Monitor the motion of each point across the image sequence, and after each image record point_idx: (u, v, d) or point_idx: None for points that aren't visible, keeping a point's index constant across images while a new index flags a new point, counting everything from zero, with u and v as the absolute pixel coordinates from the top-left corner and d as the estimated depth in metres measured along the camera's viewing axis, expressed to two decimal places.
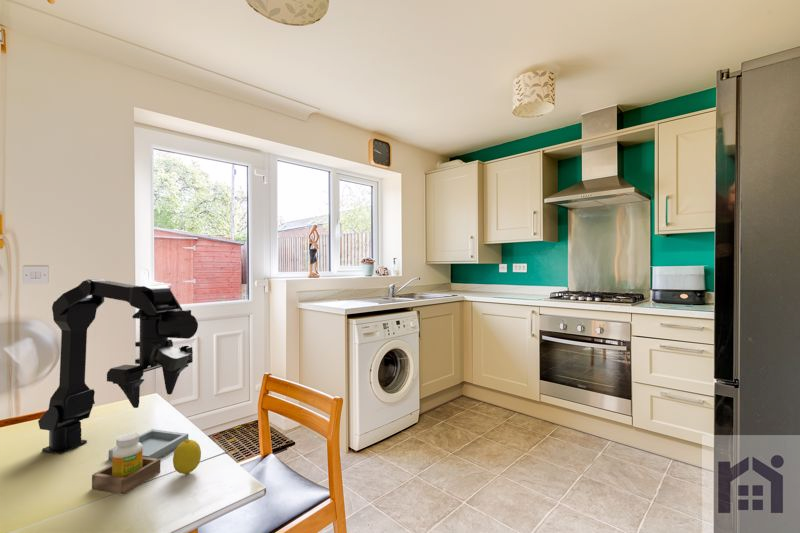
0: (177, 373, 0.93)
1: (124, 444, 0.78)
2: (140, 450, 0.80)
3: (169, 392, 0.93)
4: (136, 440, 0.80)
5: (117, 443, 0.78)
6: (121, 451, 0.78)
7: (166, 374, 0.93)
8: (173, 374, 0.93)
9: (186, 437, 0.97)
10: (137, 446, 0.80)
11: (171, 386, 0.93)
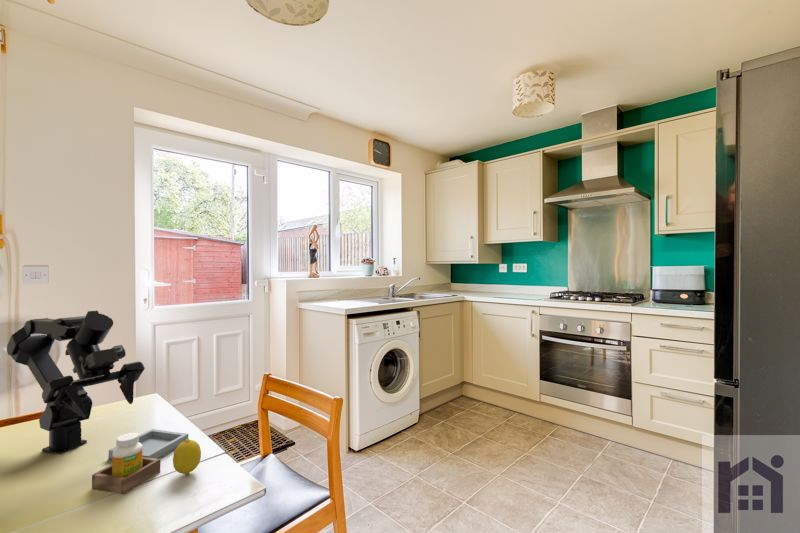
0: (130, 381, 0.91)
1: (124, 444, 0.78)
2: (140, 450, 0.80)
3: (130, 401, 0.89)
4: (136, 440, 0.80)
5: (117, 443, 0.78)
6: (121, 451, 0.78)
7: (123, 389, 0.91)
8: (126, 383, 0.91)
9: (186, 437, 0.97)
10: (137, 446, 0.80)
11: (129, 394, 0.90)
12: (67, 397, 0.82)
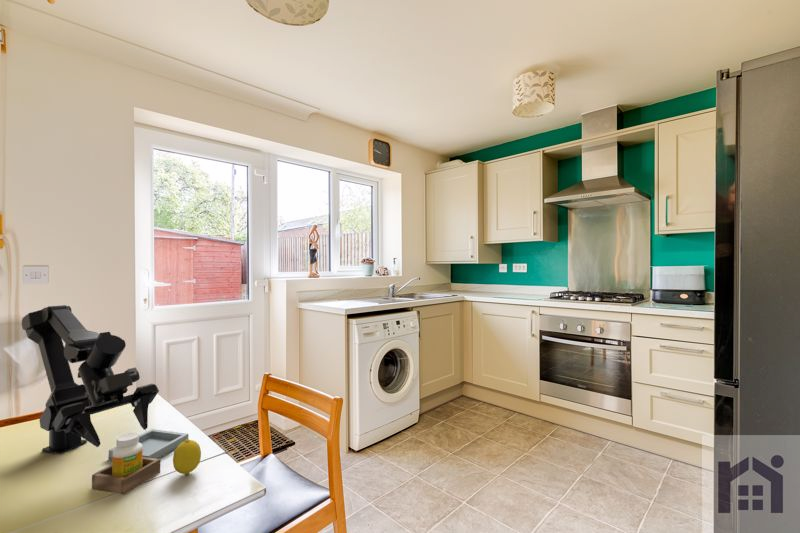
0: (144, 405, 0.87)
1: (124, 444, 0.78)
2: (140, 450, 0.80)
3: (144, 426, 0.85)
4: (136, 440, 0.80)
5: (117, 443, 0.78)
6: (121, 451, 0.78)
7: (137, 414, 0.87)
8: (140, 408, 0.87)
9: (186, 437, 0.97)
10: (137, 446, 0.80)
11: (143, 419, 0.85)
12: (79, 425, 0.78)
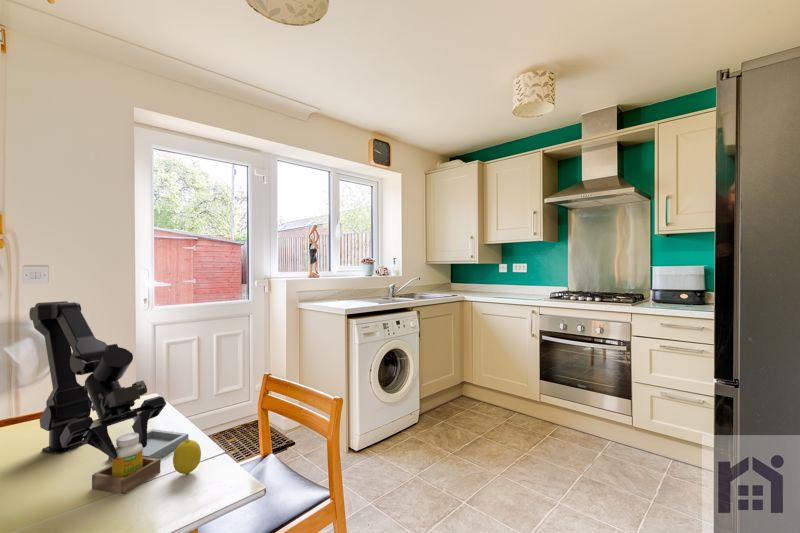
0: (143, 421, 0.84)
1: (124, 444, 0.78)
2: (140, 450, 0.80)
3: (143, 444, 0.82)
4: (136, 440, 0.80)
5: (117, 443, 0.78)
6: (121, 451, 0.78)
7: (136, 430, 0.84)
8: (139, 424, 0.84)
9: (186, 437, 0.97)
10: (137, 446, 0.80)
11: (142, 437, 0.82)
12: (96, 437, 0.78)
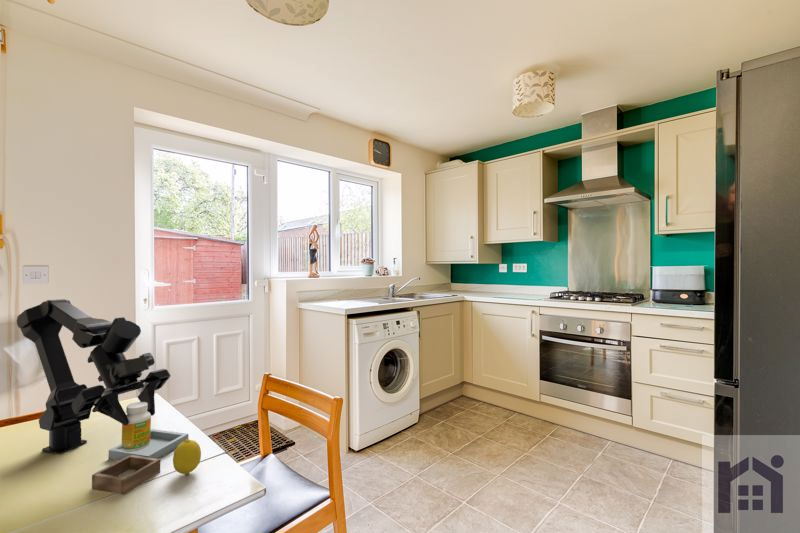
0: (150, 391, 0.88)
1: (135, 411, 0.82)
2: (149, 418, 0.84)
3: (151, 412, 0.86)
4: (145, 408, 0.84)
5: (127, 410, 0.82)
6: (132, 418, 0.82)
7: (142, 400, 0.88)
8: (147, 394, 0.87)
9: (186, 437, 0.97)
10: (146, 413, 0.84)
11: (150, 405, 0.86)
12: (106, 405, 0.81)
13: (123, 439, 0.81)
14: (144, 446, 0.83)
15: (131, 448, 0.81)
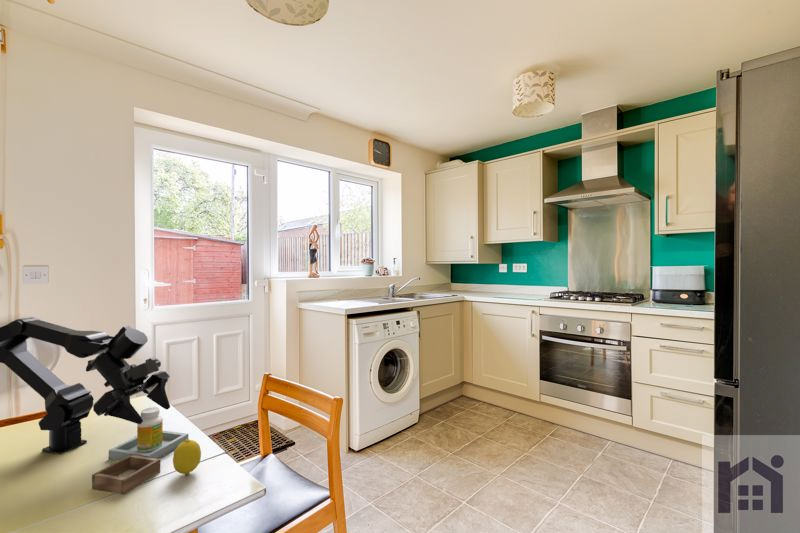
0: (162, 389, 0.99)
1: (151, 415, 0.92)
2: (162, 420, 0.95)
3: (167, 406, 0.98)
4: None
5: (144, 415, 0.91)
6: (149, 422, 0.92)
7: (154, 397, 0.99)
8: (159, 392, 0.98)
9: (186, 437, 0.97)
10: (159, 416, 0.94)
11: (165, 401, 0.98)
12: (117, 408, 0.88)
13: (141, 441, 0.91)
14: (160, 445, 0.93)
15: (150, 448, 0.91)
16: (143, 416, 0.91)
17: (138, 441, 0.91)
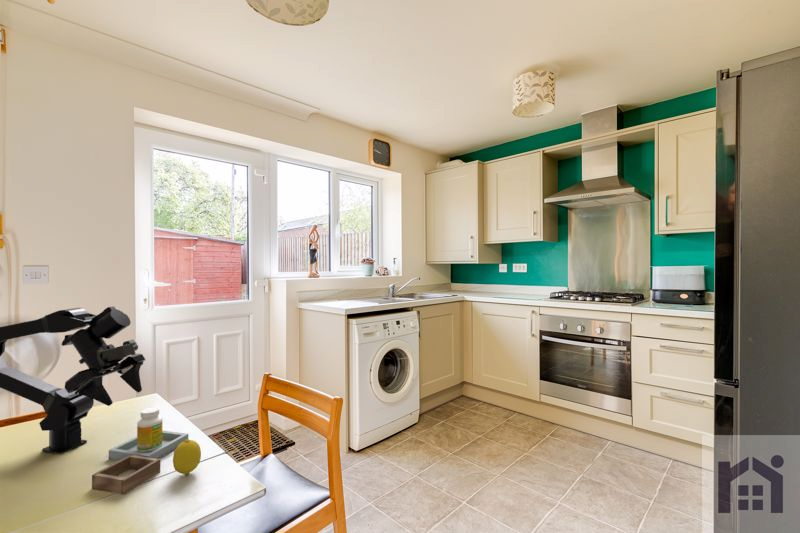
0: (136, 372, 1.00)
1: (151, 415, 0.92)
2: (162, 420, 0.95)
3: (139, 389, 0.99)
4: None
5: (143, 415, 0.91)
6: (149, 422, 0.91)
7: (127, 379, 1.00)
8: (133, 374, 1.00)
9: (186, 437, 0.97)
10: (159, 417, 0.94)
11: (137, 384, 0.99)
12: (89, 387, 0.89)
13: (141, 441, 0.91)
14: (160, 445, 0.93)
15: (150, 448, 0.91)
16: (143, 416, 0.91)
17: (138, 441, 0.91)
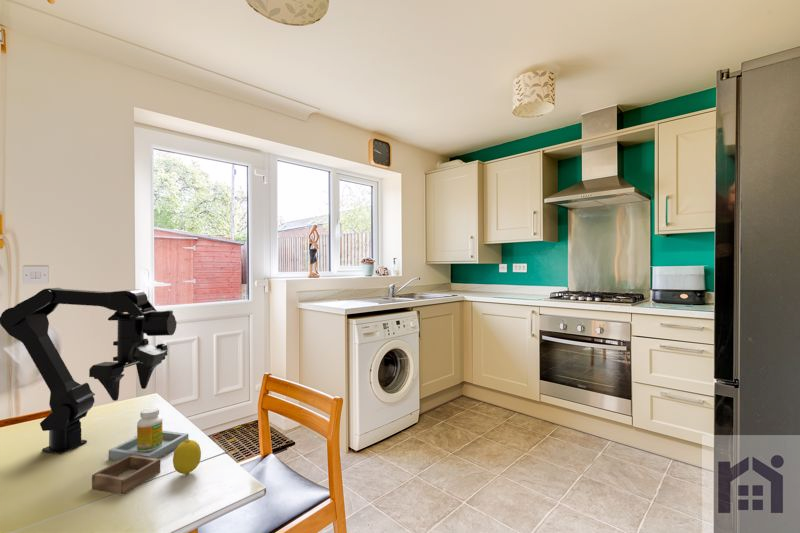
0: (151, 369, 1.03)
1: (151, 415, 0.92)
2: None
3: (143, 386, 1.02)
4: (158, 412, 0.94)
5: (143, 415, 0.92)
6: (149, 422, 0.92)
7: (140, 370, 1.02)
8: (147, 370, 1.02)
9: (186, 437, 0.97)
10: (159, 416, 0.94)
11: (145, 381, 1.02)
12: None
13: (141, 441, 0.91)
14: (160, 445, 0.93)
15: (150, 448, 0.91)
16: (143, 416, 0.92)
17: (138, 441, 0.91)
